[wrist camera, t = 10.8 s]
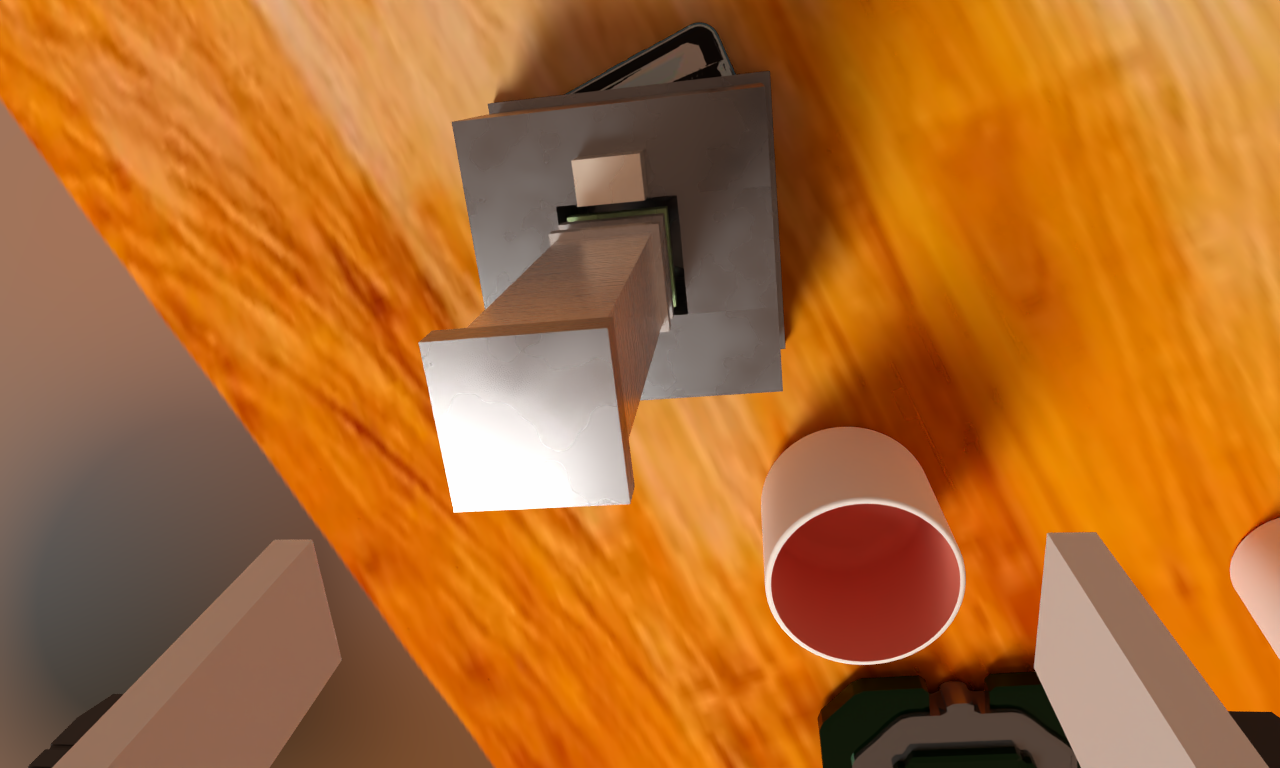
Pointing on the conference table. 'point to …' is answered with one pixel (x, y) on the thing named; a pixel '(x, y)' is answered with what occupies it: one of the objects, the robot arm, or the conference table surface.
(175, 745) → the robot arm
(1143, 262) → the conference table surface
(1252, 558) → the cup
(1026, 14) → the conference table surface
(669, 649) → the conference table surface
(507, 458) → the column
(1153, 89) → the conference table surface
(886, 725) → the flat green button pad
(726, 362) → the housing
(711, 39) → the smartphone
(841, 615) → the cup
